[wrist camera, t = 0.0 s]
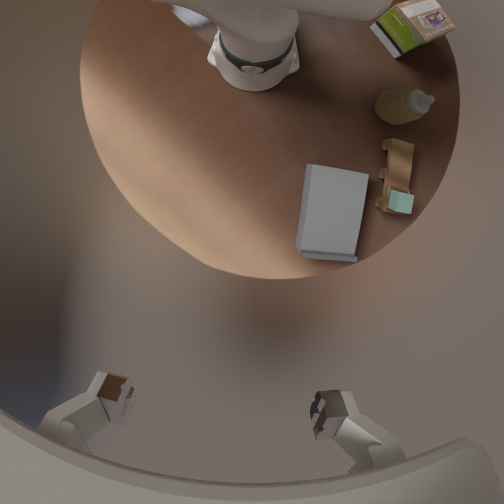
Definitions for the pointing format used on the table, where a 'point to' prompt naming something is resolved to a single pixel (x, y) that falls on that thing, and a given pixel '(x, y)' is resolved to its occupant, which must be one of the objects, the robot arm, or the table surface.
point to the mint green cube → (400, 201)
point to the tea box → (412, 25)
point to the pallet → (395, 171)
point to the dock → (331, 213)
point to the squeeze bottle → (402, 105)
